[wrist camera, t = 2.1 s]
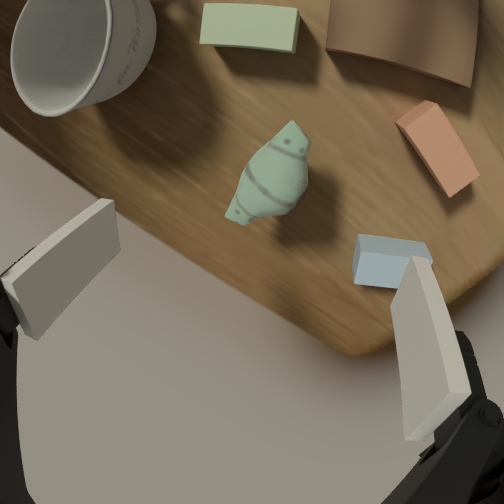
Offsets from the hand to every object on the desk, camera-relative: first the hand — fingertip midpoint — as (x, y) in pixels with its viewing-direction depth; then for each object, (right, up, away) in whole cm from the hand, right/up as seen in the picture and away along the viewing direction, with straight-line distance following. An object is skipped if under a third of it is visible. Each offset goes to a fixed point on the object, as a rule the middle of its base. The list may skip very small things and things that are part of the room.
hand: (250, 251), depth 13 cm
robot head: (+2, +7, +10) cm, 13 cm away
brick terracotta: (+13, +8, +7) cm, 17 cm away
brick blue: (+12, 0, +12) cm, 17 cm away
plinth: (+10, +18, +1) cm, 21 cm away
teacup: (-10, +19, +6) cm, 22 cm away
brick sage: (0, +16, +5) cm, 17 cm away
